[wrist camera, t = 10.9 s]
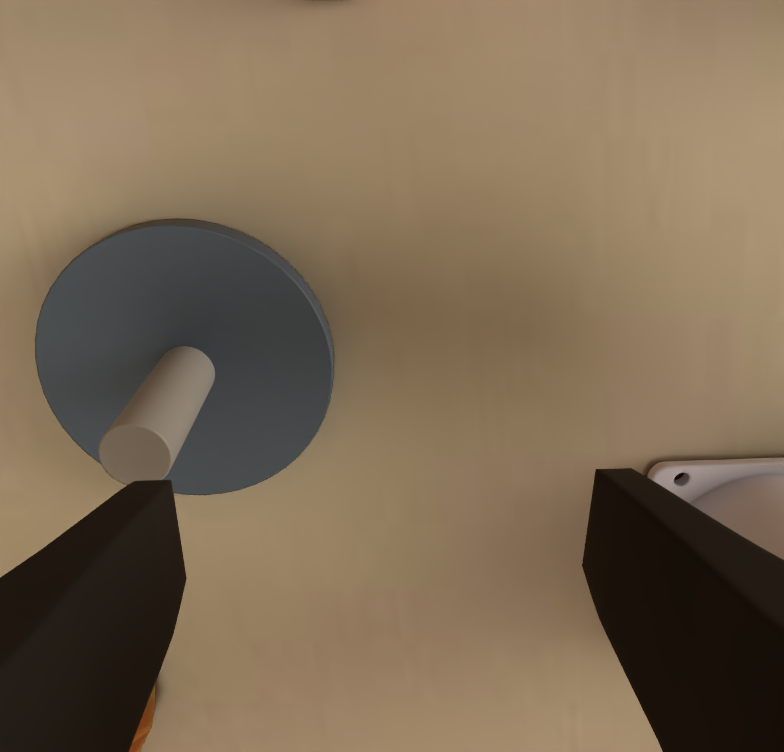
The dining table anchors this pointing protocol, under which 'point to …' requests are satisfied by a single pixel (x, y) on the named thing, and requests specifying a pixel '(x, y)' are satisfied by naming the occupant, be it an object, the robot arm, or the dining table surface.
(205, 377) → the ring stand
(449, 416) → the dining table surface
